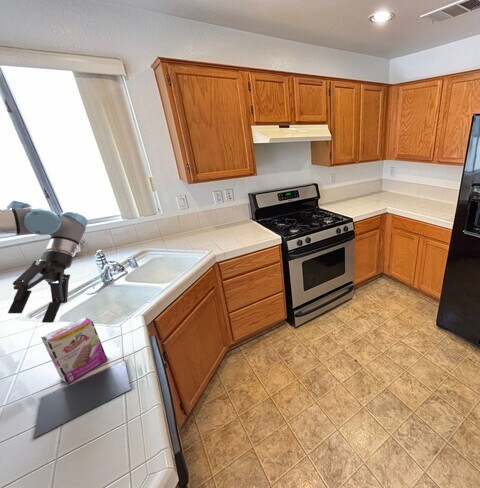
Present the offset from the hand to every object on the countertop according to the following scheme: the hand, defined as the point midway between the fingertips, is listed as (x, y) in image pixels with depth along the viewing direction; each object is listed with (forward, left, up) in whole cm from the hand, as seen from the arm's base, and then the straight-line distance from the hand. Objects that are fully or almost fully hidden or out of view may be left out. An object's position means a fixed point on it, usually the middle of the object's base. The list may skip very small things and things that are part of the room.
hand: (32, 318), depth 79 cm
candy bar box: (+7, -6, -21) cm, 23 cm away
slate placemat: (+7, -19, -21) cm, 29 cm away
